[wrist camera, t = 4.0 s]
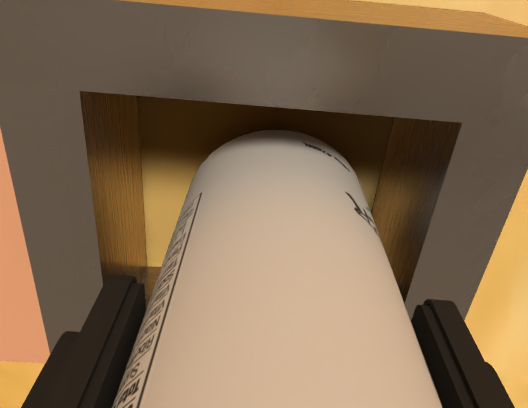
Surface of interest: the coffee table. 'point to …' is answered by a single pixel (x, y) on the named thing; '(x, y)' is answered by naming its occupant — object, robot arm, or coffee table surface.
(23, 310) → the terracotta tile
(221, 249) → the energy drink can
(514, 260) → the coffee table surface
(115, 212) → the frame
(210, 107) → the coffee table surface
